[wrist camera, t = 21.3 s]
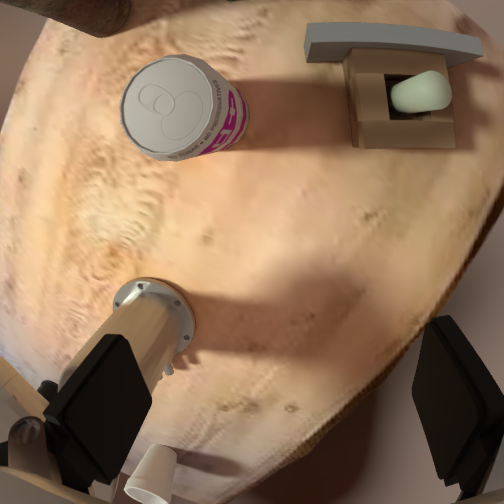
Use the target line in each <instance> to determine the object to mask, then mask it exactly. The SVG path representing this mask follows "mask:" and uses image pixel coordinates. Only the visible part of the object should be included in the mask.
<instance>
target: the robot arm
mask: <svg viewBox="0 0 504 504" xmlns="http://www.w3.org/2000/svg"><path fill="white" fill-rule="evenodd" d="M194 333H195V318H194V314H193V312H192V310H191V307H190V306H189V304H188V303H187V301H186V300H185V298H184V297H183V296H182V295H181V294H180V293H179V292H178V291H176V290H175V289H174V288H173V287H171V286H169V285H168V284H166V283H164V282H161V281H159V280H156V279H151V278H138V279H133V280H131V281H129V282H127V283H126V284H124V285H123V286H122V287H121V288H120V289H119V290H118V292H117V293H116V295H115V297H114V301H113V313H112V314H111V315H110V317H109V318H108V319H107V320H106V321H105V322H104V323H103V324H102V325H101V327H100V328H99V329H98V330H97V331H96V332H95V333H94V335H93V336H92V337H91V338H90V339H89V340H88V341H87V343H86V344H85V345H84V346H83V347H82V348H81V350H80V351H79V352H78V353H77V354H76V355H75V357H74V358H73V359H72V360H71V361H70V362H69V364H68V365H67V366H66V368H65V369H64V370H63V372H62V375H61V377H60V380H59V384H58V393H57V394H56V396H55V397H54V398H53V399H52V401H51V402H50V403H49V402H48V401H47V400H46V399H45V398H44V397H43V396H42V395H40V394H39V393H38V392H37V391H36V390H35V389H34V388H33V387H32V386H31V385H30V384H29V383H28V382H27V381H26V380H25V379H24V378H23V377H22V376H21V375H20V374H19V373H18V372H17V371H16V370H15V368H14V367H13V366H12V365H11V364H9V363H8V362H7V361H6V360H5V359H4V358H3V357H2V356H0V504H114V503H112V501H113V499H114V496H115V492H116V489H117V485H118V480H119V475H120V471H121V468H122V466H123V464H124V462H125V460H126V458H127V456H128V453H129V451H130V449H131V447H132V445H133V443H134V441H135V439H136V437H137V434H138V432H139V430H140V428H141V426H142V424H143V422H144V420H145V418H146V416H147V413H148V411H149V409H150V407H151V405H152V397H151V395H152V393H153V391H154V389H155V387H156V385H157V383H158V381H159V380H161V379H162V378H163V375H162V373H163V371H165V374H166V375H172V374H173V373H174V370H173V367H172V365H171V361H172V359H173V357H174V355H175V354H178V353H180V352H181V351H183V350H184V349H185V348H187V347H188V345H189V344H190V342H191V341H192V338H193V336H194ZM412 397H413V400H414V403H415V405H416V409H417V411H418V414H419V417H420V420H421V423H422V426H423V429H424V432H425V435H426V438H427V442H428V445H429V448H430V451H431V454H432V458H433V461H434V465H435V468H436V472H437V475H438V478H439V479H444V483H445V486H446V487H447V486H450V485H453V484H456V483H459V485H460V489H461V490H462V491H461V493H460V495H459V497H458V499H457V501H456V502H455V503H452V504H504V395H503V393H502V392H501V390H500V388H499V387H498V385H497V383H496V382H495V380H494V379H493V377H492V375H491V374H490V372H489V371H488V369H487V368H486V366H485V365H484V363H483V361H482V360H481V358H480V357H479V356H478V354H477V353H476V351H475V350H474V348H473V347H472V345H471V344H470V342H469V341H468V340H467V338H466V337H465V335H464V334H463V333H462V331H461V330H460V329H459V327H458V326H457V324H456V323H455V322H454V320H453V319H452V317H451V316H450V315H446V316H439V317H433V318H432V319H431V320H430V323H427V324H426V325H425V330H424V335H423V340H422V345H421V350H420V355H419V360H418V364H417V369H416V373H415V377H414V381H413V385H412Z"/></svg>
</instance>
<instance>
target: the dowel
mask: <svg viewBox="0 0 504 504" xmlns="http://www.w3.org/2000/svg"><path fill="white" fill-rule="evenodd" d="M386 94H387V102H388V110H389V113H391V114H393V115H402V114H409V113H416V112H423V111H431V110H439V109H444V108H446V107H447V106H448V105H449V104H450V102H451V99H452V90H451V86H450V84H449V82H448V81H447V79H446V78H445V77H444V76H443V75H442V74H440V73H438V72H436V71H427V72H424V73H421V74H419V75H417V76H414V77H412V78H409V79H407V80H405V81H402V82H400V83H398V84H395V85H393V86H391V87H388V88H387V89H386Z"/></svg>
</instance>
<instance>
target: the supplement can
mask: <svg viewBox="0 0 504 504" xmlns="http://www.w3.org/2000/svg"><path fill="white" fill-rule="evenodd" d="M119 111H120V121H121V125H122V127H123V129H124V131H125V134H126V136H127V138H128V139H129V140H130V141H131V143H133V144H134V145H135V146H136V147H137V148H138V149H139V150H140V151H141V152H142V153H143V154H145V155H147V156H149V157H152V158H154V159H156V160H159V161H181V160H185V159H189V158H193V157H197V156H201V155H206V154H210V153H214V152H218V151H222V150H225V149H228V148H230V147H231V146H232V145H234V144H235V143H237V142H238V141H239V140H240V138H241V137H242V136H243V134H244V133H245V131H246V129H247V125H248V122H249V108H248V104H247V102H246V100H245V98H244V96H243V94H242V93H241V92H239V91H238V90H237V89H236V88H235V87H234V86H233V85H232V84H230V83H229V82H228V81H227V80H226V79H225V78H224V77H222V76H221V75H220V74H219V73H218V72H217V71H215V70H214V69H213V68H212V67H211V66H209V65H208V64H207V63H206V62H205V61H203V60H202V59H199V58H195V57H192V56H189V55H186V54H182V55H167V56H164V57H162V58H159V59H157V60H155V61H152V62H150V63H148V64H146V65H144V66H143V67H142V68H141V69H139V70H138V71H137V72H136V73H135V74H134V75H133V76H132V77H131V78H130V80H129V82H128V83H127V85H126V87H125V88H124V90H123V93H122V97H121V101H120V106H119Z"/></svg>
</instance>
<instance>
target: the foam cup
mask: <svg viewBox="0 0 504 504" xmlns="http://www.w3.org/2000/svg"><path fill="white" fill-rule="evenodd" d="M176 461H177V454H176V452H174V451H173V450H172V449H171V448H169V447H167V446H164V445H161V444H153V445H151V446H150V447H149V449H148V450H147V452H146V454H145V455H144V457H143V458H142V460H141V461H140V463H139V465H138V466H137V468H136V469H135V471H134V473H133V474H132V476H131V477H130V478H129V479H128V481H127V483H126V486H125V488H124V491H125V492H126V493H127V494H128V495H129V496H131V497H132V498H133V499H135V500H138V501H140V502H141V503H144V504H169V503H170V500H171V497H172V496H171V492H172V485H173V479H174V473H175V467H176Z"/></svg>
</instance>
